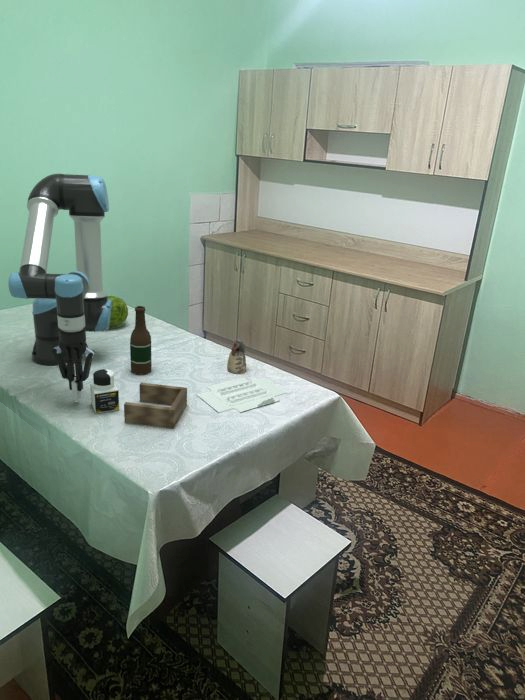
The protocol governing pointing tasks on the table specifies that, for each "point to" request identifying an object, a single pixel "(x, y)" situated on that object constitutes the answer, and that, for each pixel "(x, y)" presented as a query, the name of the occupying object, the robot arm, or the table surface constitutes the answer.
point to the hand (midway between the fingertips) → (77, 399)
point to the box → (157, 413)
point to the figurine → (237, 358)
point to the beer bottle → (140, 345)
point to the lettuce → (117, 311)
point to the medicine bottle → (104, 392)
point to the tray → (241, 394)
